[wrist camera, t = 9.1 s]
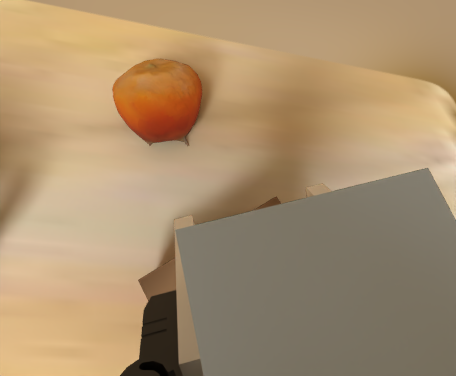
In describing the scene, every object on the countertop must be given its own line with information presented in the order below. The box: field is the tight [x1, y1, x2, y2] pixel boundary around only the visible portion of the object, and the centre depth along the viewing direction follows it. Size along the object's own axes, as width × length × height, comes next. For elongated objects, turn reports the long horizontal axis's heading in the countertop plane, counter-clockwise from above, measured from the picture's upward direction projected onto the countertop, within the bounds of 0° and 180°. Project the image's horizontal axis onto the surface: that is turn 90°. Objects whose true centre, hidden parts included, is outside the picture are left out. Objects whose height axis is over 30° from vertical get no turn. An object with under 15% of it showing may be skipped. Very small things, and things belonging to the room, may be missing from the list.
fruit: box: [113, 59, 202, 146], centre depth 29 cm, size 8×8×8 cm
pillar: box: [175, 168, 456, 376], centre depth 10 cm, size 5×5×11 cm
